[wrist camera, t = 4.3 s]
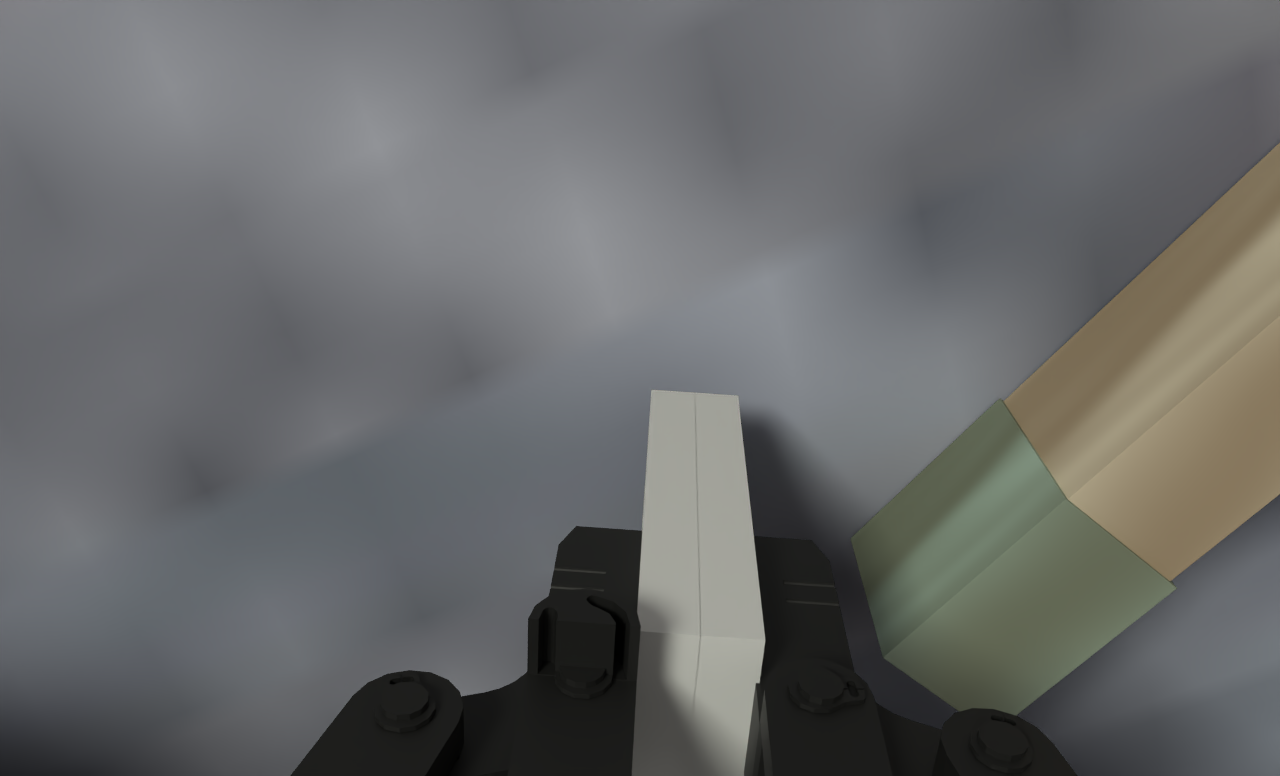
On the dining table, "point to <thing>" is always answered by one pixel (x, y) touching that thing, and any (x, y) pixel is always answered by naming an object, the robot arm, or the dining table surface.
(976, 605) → the tongs jaw
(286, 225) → the dining table surface
